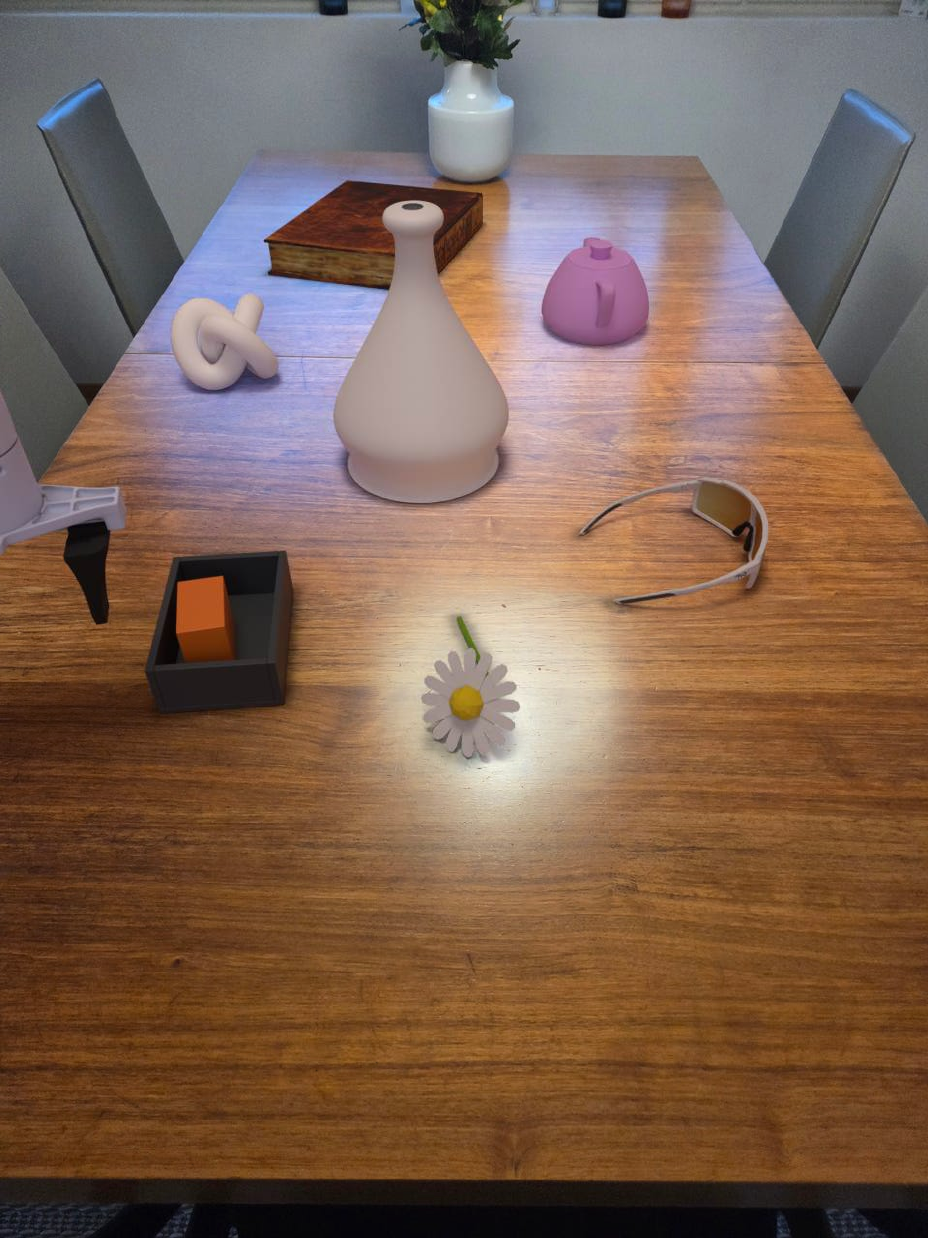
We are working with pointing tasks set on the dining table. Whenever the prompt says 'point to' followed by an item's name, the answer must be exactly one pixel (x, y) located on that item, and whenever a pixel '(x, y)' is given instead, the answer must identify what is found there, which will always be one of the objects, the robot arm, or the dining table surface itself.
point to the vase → (419, 383)
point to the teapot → (596, 295)
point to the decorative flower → (469, 700)
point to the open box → (259, 635)
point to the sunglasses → (723, 509)
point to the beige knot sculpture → (220, 342)
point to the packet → (205, 621)
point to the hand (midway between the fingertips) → (43, 623)
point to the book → (365, 233)
